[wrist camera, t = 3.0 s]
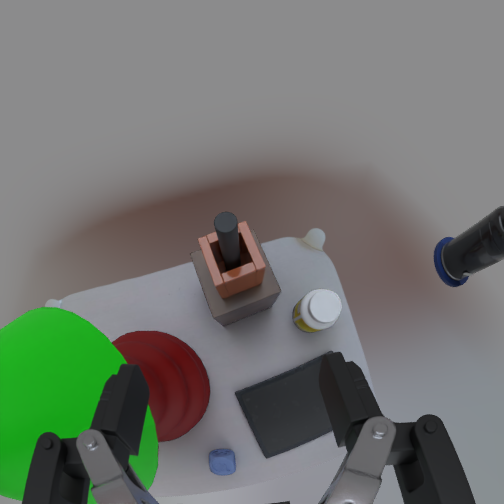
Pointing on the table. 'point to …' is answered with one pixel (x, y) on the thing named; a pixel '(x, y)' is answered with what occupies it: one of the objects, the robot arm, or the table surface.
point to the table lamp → (88, 388)
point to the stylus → (228, 239)
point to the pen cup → (238, 277)
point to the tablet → (286, 409)
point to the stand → (240, 302)
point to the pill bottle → (317, 310)
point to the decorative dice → (222, 462)
